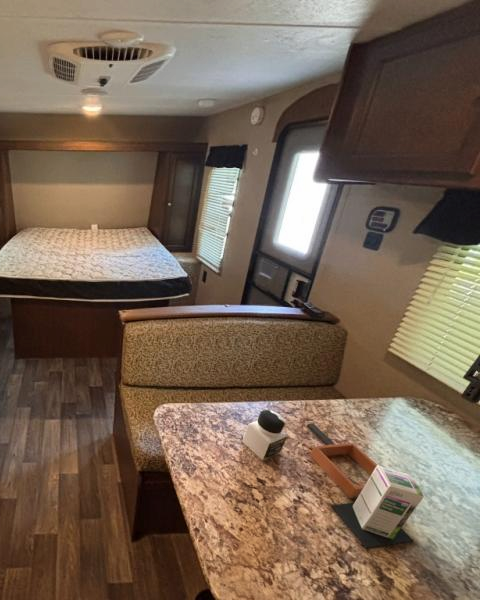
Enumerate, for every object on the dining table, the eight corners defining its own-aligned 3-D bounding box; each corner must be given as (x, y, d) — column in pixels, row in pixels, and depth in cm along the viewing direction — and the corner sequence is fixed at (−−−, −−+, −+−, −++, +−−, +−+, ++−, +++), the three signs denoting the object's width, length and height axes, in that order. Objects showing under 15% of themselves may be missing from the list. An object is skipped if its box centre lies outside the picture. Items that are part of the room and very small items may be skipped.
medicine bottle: (262, 461, 86) (276, 429, 81) (241, 441, 92) (252, 410, 87) (280, 453, 89) (294, 421, 84) (258, 434, 95) (270, 404, 90)
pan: (324, 429, 98) (328, 421, 97) (392, 493, 80) (399, 484, 78) (288, 432, 96) (292, 424, 95) (349, 498, 78) (355, 489, 76)
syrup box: (361, 529, 71) (391, 486, 65) (351, 505, 76) (377, 463, 70) (392, 540, 69) (426, 497, 63) (379, 514, 74) (409, 472, 68)
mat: (372, 501, 77) (373, 500, 77) (412, 541, 69) (413, 540, 69) (330, 506, 76) (331, 505, 76) (366, 548, 68) (367, 547, 67)
